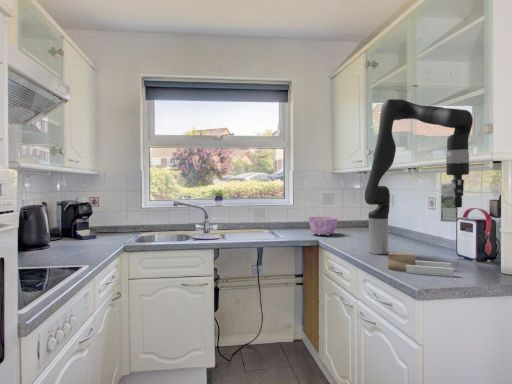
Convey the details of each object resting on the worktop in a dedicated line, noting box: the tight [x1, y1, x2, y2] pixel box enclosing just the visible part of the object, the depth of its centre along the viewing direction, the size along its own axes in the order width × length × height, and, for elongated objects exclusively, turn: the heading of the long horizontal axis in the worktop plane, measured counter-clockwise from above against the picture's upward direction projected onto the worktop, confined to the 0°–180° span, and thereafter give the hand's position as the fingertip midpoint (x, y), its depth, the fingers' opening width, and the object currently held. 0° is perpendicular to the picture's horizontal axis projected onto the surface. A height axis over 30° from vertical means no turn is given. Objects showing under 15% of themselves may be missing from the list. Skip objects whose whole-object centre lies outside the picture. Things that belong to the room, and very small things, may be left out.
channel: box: [392, 260, 455, 278], centre depth 141 cm, size 11×21×3 cm, turn 66°
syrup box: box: [439, 182, 459, 223], centre depth 139 cm, size 6×6×14 cm
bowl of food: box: [307, 216, 339, 235], centre depth 245 cm, size 20×20×12 cm
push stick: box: [387, 252, 417, 270], centre depth 144 cm, size 3×10×6 cm, turn 66°
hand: (457, 206), depth 137 cm, fingers closed on syrup box, 5 cm apart
